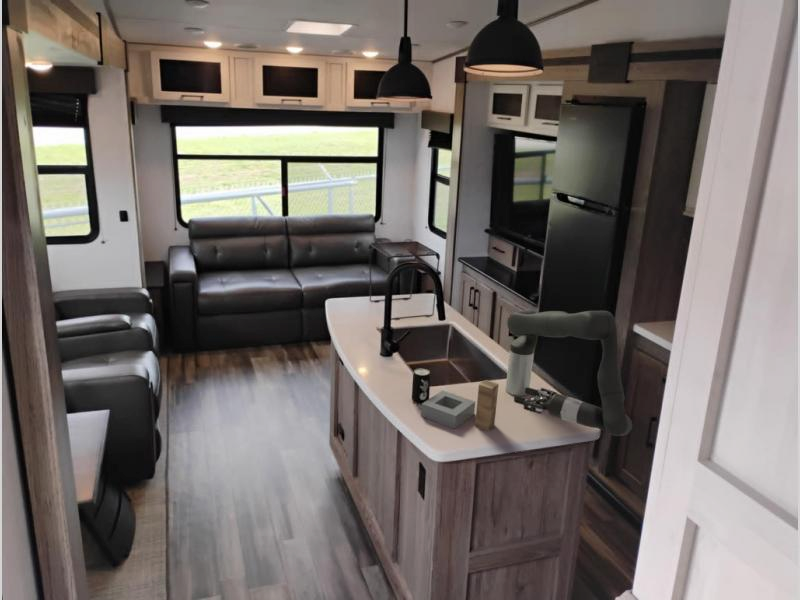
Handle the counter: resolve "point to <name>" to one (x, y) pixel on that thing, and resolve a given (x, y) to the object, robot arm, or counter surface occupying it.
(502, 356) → the counter surface
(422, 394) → the beverage can
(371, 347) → the counter surface
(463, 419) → the well block
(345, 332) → the counter surface
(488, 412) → the tall wooden block
